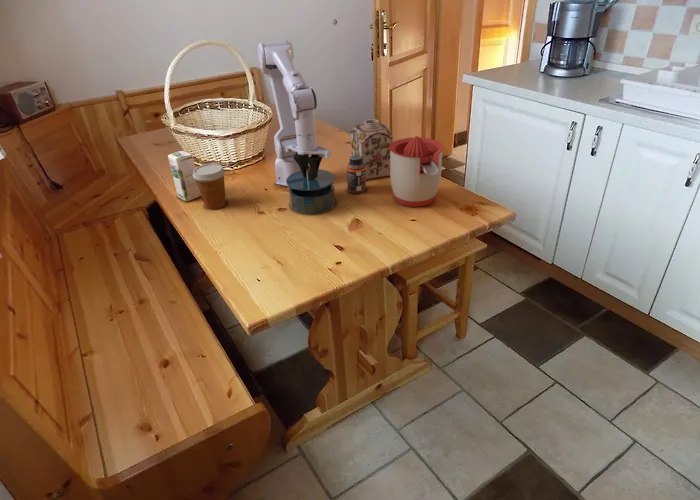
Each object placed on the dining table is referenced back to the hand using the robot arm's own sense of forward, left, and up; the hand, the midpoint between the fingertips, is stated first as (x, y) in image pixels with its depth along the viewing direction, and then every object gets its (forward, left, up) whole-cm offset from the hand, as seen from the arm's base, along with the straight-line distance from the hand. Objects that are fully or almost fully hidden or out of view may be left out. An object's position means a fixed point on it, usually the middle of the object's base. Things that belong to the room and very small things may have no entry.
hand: (310, 177), depth 141 cm
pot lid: (0, 0, -1) cm, 1 cm away
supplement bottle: (+8, +14, -9) cm, 19 cm away
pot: (0, 0, -9) cm, 9 cm away
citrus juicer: (+28, +15, -9) cm, 33 cm away
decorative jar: (+6, +29, -9) cm, 31 cm away
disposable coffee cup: (-28, -13, -9) cm, 32 cm away
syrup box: (-40, -12, -9) cm, 43 cm away
